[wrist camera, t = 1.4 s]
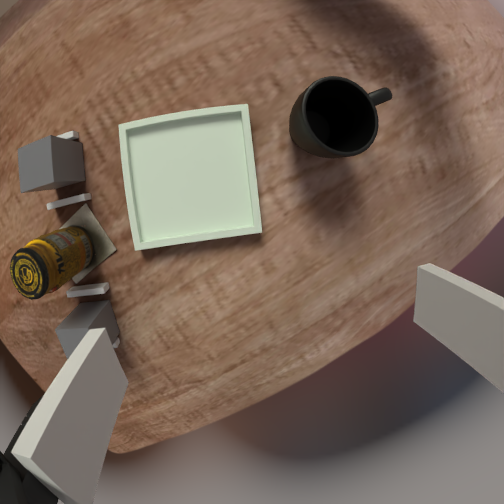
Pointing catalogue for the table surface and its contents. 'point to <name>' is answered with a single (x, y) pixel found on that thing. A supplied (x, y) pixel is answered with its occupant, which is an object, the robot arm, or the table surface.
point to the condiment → (60, 255)
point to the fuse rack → (52, 177)
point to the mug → (336, 117)
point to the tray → (190, 176)
